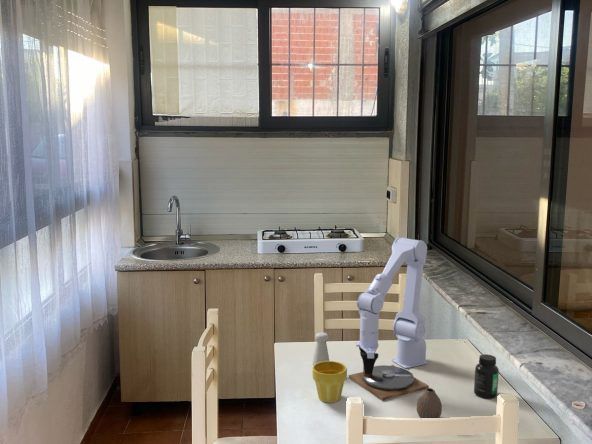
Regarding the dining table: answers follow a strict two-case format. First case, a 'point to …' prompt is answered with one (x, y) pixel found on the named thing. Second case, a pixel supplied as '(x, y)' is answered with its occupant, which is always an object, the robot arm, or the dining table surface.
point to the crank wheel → (389, 378)
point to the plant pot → (329, 380)
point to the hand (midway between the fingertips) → (367, 371)
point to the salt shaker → (321, 348)
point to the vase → (429, 404)
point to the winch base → (388, 394)
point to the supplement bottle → (486, 377)
